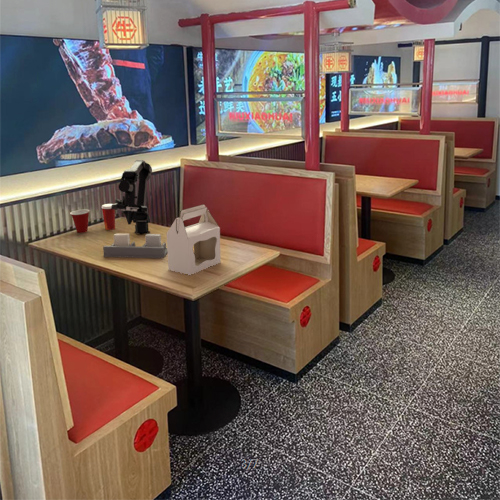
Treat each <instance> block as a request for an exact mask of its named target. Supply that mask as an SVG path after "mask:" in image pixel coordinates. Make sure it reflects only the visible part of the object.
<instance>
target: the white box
mask: <svg viewBox="0 0 500 500" xmlns="http://www.w3.org/2000/svg"><path fill="white" fill-rule="evenodd" d="M144 236H145V237H144V239H145V243H146V247H161V245H162V234H160V233H146V234H145V235H144Z"/></svg>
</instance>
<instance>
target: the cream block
mask: <svg viewBox="0 0 500 500" xmlns="http://www.w3.org/2000/svg"><path fill="white" fill-rule="evenodd" d="M113 243H114V245H115V246H129V245H130V244H131V240H130V233H115V234H113Z"/></svg>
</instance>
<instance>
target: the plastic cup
mask: <svg viewBox="0 0 500 500" xmlns="http://www.w3.org/2000/svg"><path fill="white" fill-rule="evenodd" d="M69 214H70V216H71V218H72V221H73V223H74V227H75V230H76V232H77V233H79V234H82V233H83V234H84V233H87V232H88V229H89V227H88V226H89V217H90V209H77V210H73V211H71V212H69Z"/></svg>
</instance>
